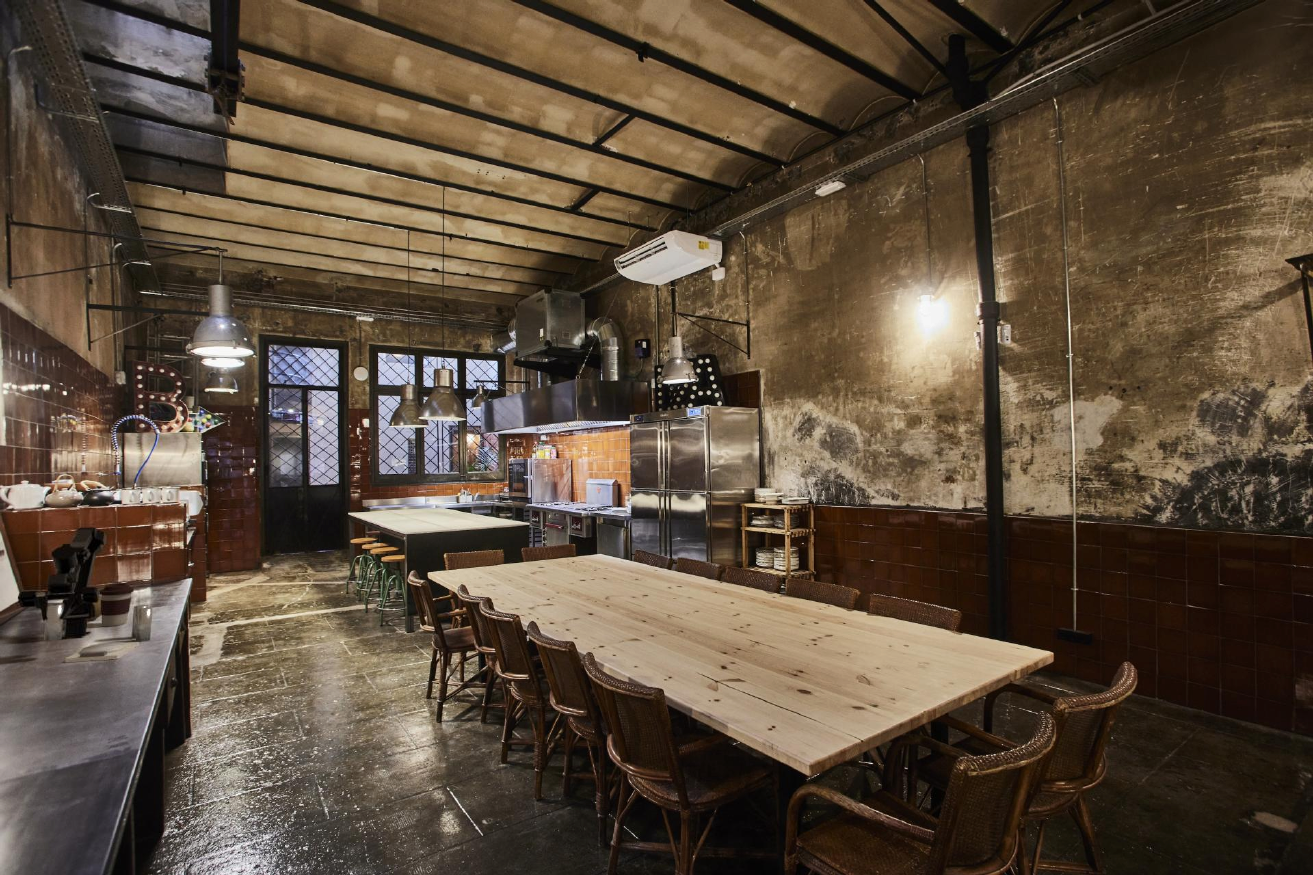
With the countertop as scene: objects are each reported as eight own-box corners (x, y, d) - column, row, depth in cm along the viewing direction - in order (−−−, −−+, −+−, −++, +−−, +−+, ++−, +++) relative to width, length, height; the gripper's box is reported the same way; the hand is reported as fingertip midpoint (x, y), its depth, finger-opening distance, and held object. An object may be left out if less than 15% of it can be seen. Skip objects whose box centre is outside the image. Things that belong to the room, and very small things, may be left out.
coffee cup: (138, 621, 241) (140, 583, 241) (113, 628, 231) (116, 587, 232) (115, 620, 242) (117, 581, 242) (89, 626, 232) (92, 586, 233)
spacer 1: (48, 638, 197) (51, 603, 197) (64, 637, 198) (66, 602, 199) (40, 641, 193) (43, 606, 194) (57, 640, 194) (60, 605, 195)
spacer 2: (134, 636, 221) (136, 605, 222) (147, 635, 223) (150, 604, 223) (129, 639, 218) (131, 607, 218) (143, 638, 219) (145, 606, 220)
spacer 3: (138, 639, 218) (140, 607, 218) (152, 638, 219) (154, 607, 220) (133, 642, 214) (135, 610, 214) (147, 641, 215) (149, 609, 216)
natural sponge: (86, 624, 236) (88, 597, 236) (68, 622, 237) (70, 596, 238) (111, 618, 244) (113, 593, 245) (94, 617, 246) (96, 591, 247)
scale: (91, 648, 206) (92, 640, 206) (139, 645, 210) (139, 638, 211) (65, 662, 191) (65, 654, 191) (116, 659, 195) (117, 651, 196)
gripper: (22, 565, 195) (6, 607, 185) (100, 561, 205) (89, 602, 195) (28, 585, 201) (13, 628, 192) (103, 581, 211) (93, 621, 201)
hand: (53, 619), depth 195 cm, fingers closed on spacer 1, 4 cm apart
